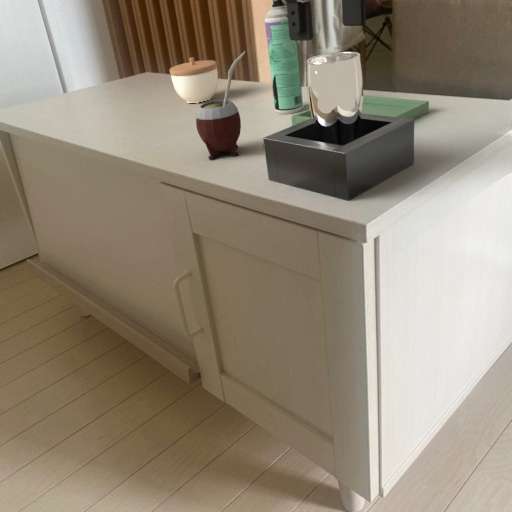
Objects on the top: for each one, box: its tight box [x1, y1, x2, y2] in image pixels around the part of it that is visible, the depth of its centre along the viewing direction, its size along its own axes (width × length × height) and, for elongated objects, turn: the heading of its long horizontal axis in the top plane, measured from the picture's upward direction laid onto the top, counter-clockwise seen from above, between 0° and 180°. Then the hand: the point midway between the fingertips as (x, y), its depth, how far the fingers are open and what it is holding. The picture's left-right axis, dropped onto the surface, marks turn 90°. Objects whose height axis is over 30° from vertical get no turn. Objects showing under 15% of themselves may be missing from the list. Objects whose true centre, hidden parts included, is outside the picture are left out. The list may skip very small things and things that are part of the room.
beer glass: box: [306, 51, 364, 146], centre depth 70 cm, size 7×7×15 cm
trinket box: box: [169, 56, 219, 104], centre depth 122 cm, size 11×11×9 cm
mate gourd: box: [195, 50, 246, 161], centre depth 84 cm, size 8×8×15 cm
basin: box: [262, 113, 415, 202], centre depth 72 cm, size 14×14×6 cm
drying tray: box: [290, 94, 430, 126], centre depth 94 cm, size 18×16×2 cm
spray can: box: [264, 0, 304, 115], centre depth 101 cm, size 6×6×20 cm
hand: (328, 32), depth 65 cm, fingers open, 9 cm apart
